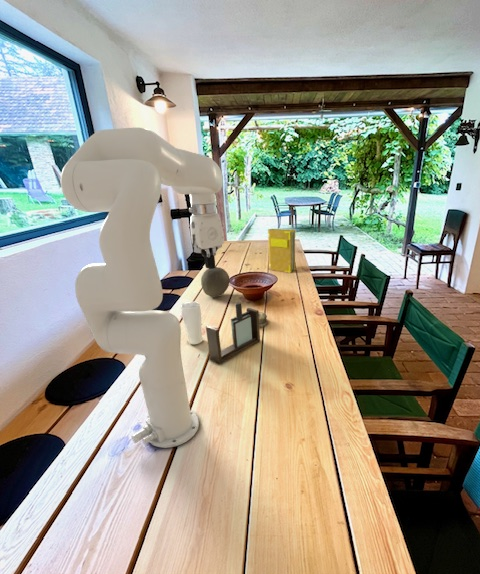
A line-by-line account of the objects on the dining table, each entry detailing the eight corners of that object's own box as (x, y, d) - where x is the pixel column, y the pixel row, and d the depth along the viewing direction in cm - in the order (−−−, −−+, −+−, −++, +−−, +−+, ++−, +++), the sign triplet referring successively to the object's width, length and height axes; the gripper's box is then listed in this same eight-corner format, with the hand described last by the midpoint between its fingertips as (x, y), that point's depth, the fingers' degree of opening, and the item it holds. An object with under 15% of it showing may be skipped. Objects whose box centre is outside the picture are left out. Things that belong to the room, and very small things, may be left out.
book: (295, 270, 205) (295, 229, 195) (290, 272, 200) (290, 231, 190) (272, 267, 214) (271, 228, 203) (267, 269, 209) (265, 230, 198)
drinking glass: (200, 346, 118) (195, 308, 112) (183, 345, 119) (177, 308, 113) (207, 338, 124) (202, 301, 118) (190, 336, 125) (185, 301, 119)
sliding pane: (237, 349, 112) (233, 306, 106) (233, 348, 113) (229, 305, 107) (253, 340, 118) (251, 299, 111) (249, 339, 119) (247, 298, 112)
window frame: (219, 364, 106) (215, 330, 101) (209, 359, 109) (205, 326, 104) (260, 341, 120) (258, 310, 115) (250, 337, 123) (248, 307, 118)
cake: (271, 321, 137) (272, 309, 135) (260, 331, 129) (260, 319, 127) (251, 315, 141) (251, 304, 138) (239, 325, 133) (239, 313, 131)
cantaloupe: (218, 302, 158) (215, 273, 152) (197, 298, 165) (193, 269, 159) (235, 293, 169) (233, 265, 163) (215, 290, 176) (212, 263, 170)
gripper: (191, 213, 92) (199, 275, 99) (230, 208, 102) (234, 264, 110) (176, 212, 96) (185, 271, 104) (214, 207, 107) (220, 261, 114)
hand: (210, 267), depth 107 cm, fingers closed
